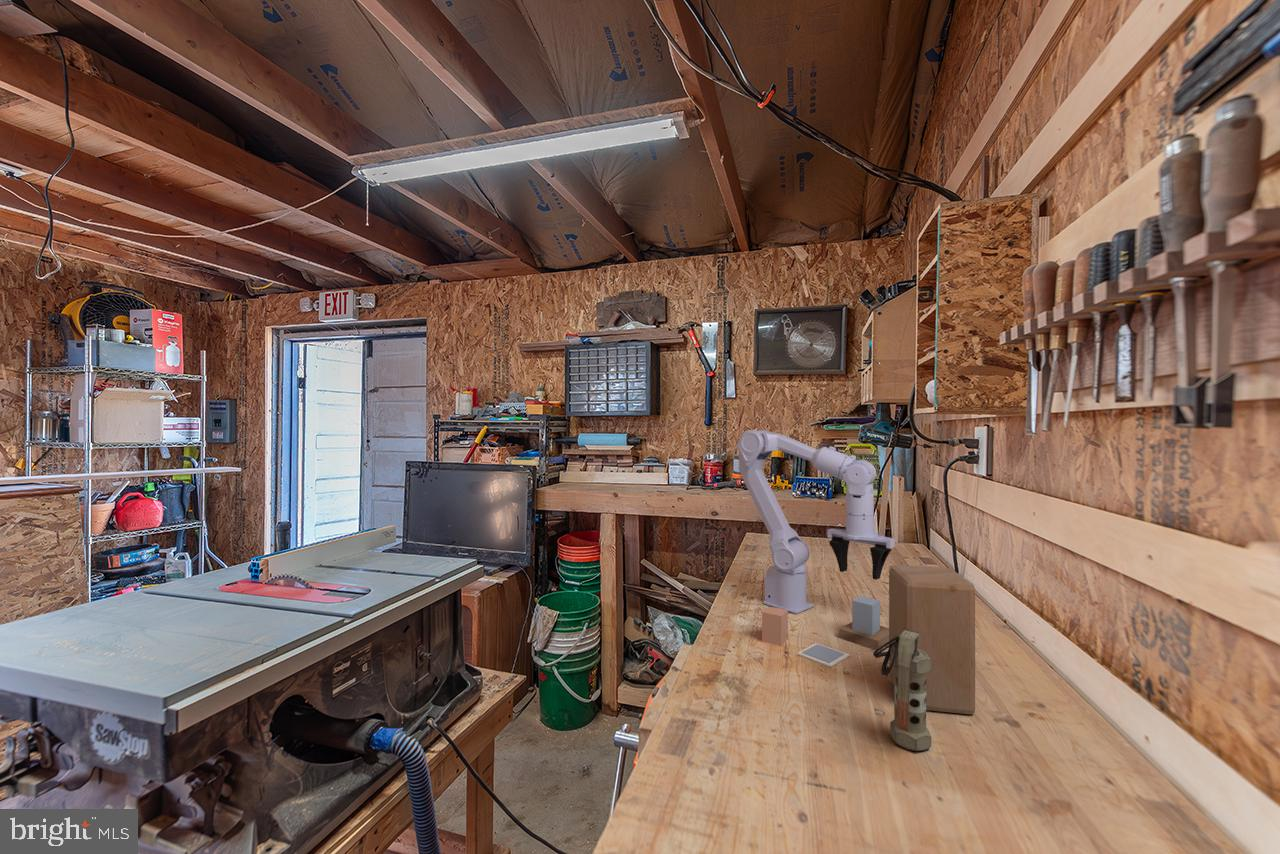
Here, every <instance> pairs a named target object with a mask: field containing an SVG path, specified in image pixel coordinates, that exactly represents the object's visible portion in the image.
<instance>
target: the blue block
mask: <svg viewBox="0 0 1280 854" xmlns="http://www.w3.org/2000/svg"><path fill="white" fill-rule="evenodd" d="M851 602H852V605H851V606H852V611H851V612H852V614H851V618H852V620H851V621H852V630H855V631H858V632H862V633H865V634H869V635H874V634H875V633H876V632H878V631H879V630H880V626H881V600H878V599H875V598H870V597H867V596H862V595H860V596H858V597H856V598H853V599H852V601H851Z"/></svg>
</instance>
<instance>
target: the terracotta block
mask: <svg viewBox="0 0 1280 854" xmlns="http://www.w3.org/2000/svg"><path fill="white" fill-rule="evenodd" d="M788 640H789V611H788V610H784V609H779V608H776V607H773V606H768V607H766V608H765V609H764V610H763V611H762V612H761V642H762V643H766V644H771V645H775V646H778V647H782V646H784V644H785V643H786V642H787V641H788Z"/></svg>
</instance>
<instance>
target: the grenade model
mask: <svg viewBox="0 0 1280 854" xmlns="http://www.w3.org/2000/svg"><path fill="white" fill-rule="evenodd" d="M919 635H920V634H919V633H918V632H915V631H911V630H907V631H906V630H904V631H903V632H902V633H901V635H900V636H898V637H897V636H896V637H895V638H893V639H891V640H890V641H888V642H887V643H886V644H884V645H883V646H881V647H880V648H878V649H877V650H874V651H873V653H872V655H873V656H874V658H876V659H878V658H882V657H884V659H883V662H882V665H881V669H880V670H881V671H880V672H881V675H882V676H884V677H887V676H889V673H890V671H891V669H892V667H893V666H894V685H893V687H894V688H893V689H894V697H893V698H894V712H893V714H894V715H893V717H894V718H893V720H892V721H890V722H889V724H890V725H889V728H890V730H889V732H890V736H891V738H892V740H893V742H895V744H897V745H898V746H900V747H901V748H903V749H905V750H908V751H912V752H922V751H925V750H928V749H930V748H931V747H932V736H931V733H930V731H929V729H928V728H927V710H926V673H927V672H929V671H930V670H931V659H930V657H929V655H928V654H927V653H926V652H924V651H922V650H919V649H918V648H917V644H918V637H919ZM894 640H896V641H895V642H893V641H894ZM891 642H892V643H891ZM890 643H891V644H890ZM888 644H889V645H888ZM893 645H894V647H893V648H892V646H893ZM885 646H886V647H885ZM891 648H892V649H891ZM885 650H887V651H885ZM889 658H890V659H891V662H892V663H891V665H890V668H889Z"/></svg>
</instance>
